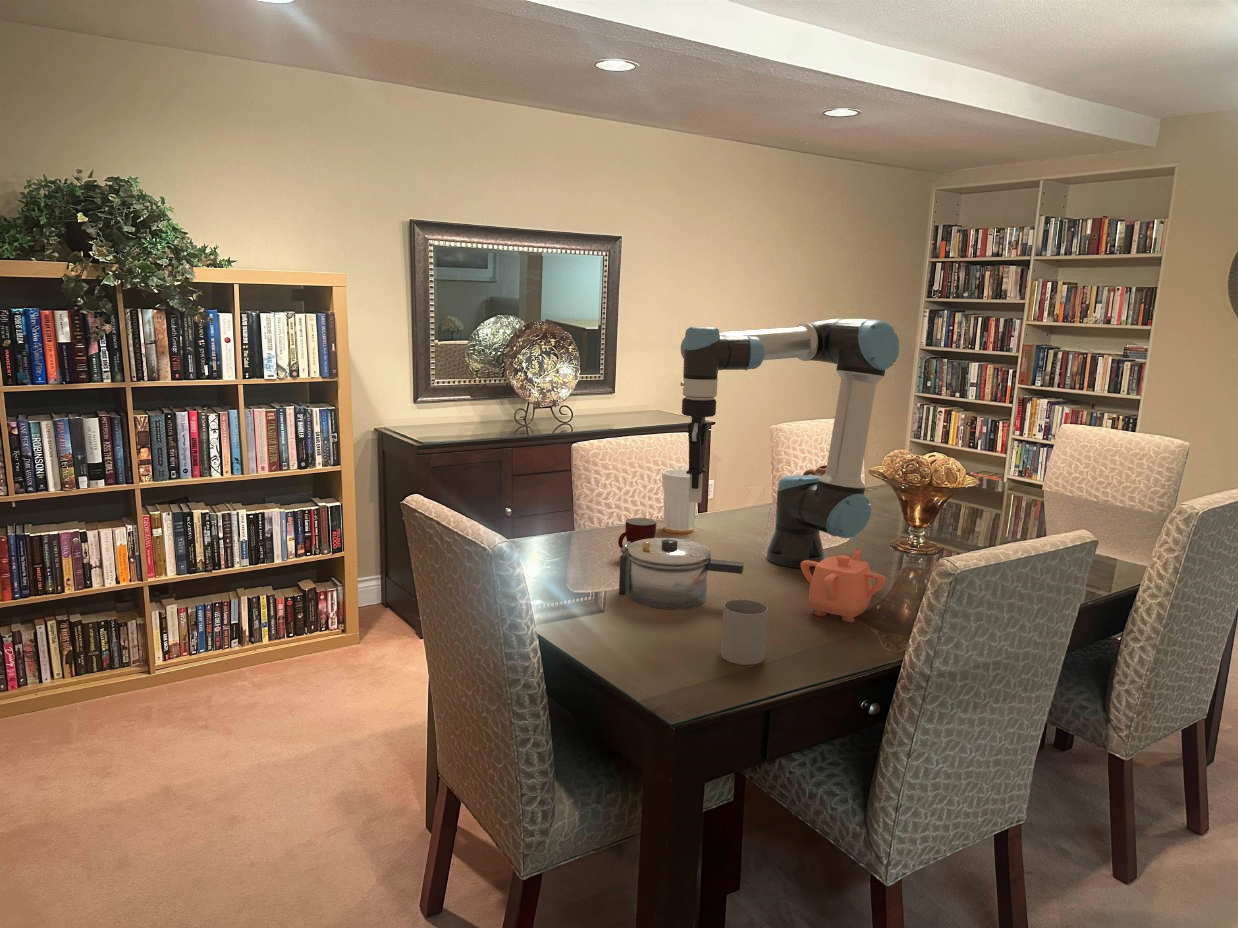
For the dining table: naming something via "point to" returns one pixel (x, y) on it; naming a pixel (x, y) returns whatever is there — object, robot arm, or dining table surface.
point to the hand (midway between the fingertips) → (695, 501)
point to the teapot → (841, 585)
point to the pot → (669, 581)
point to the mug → (638, 530)
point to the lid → (667, 551)
